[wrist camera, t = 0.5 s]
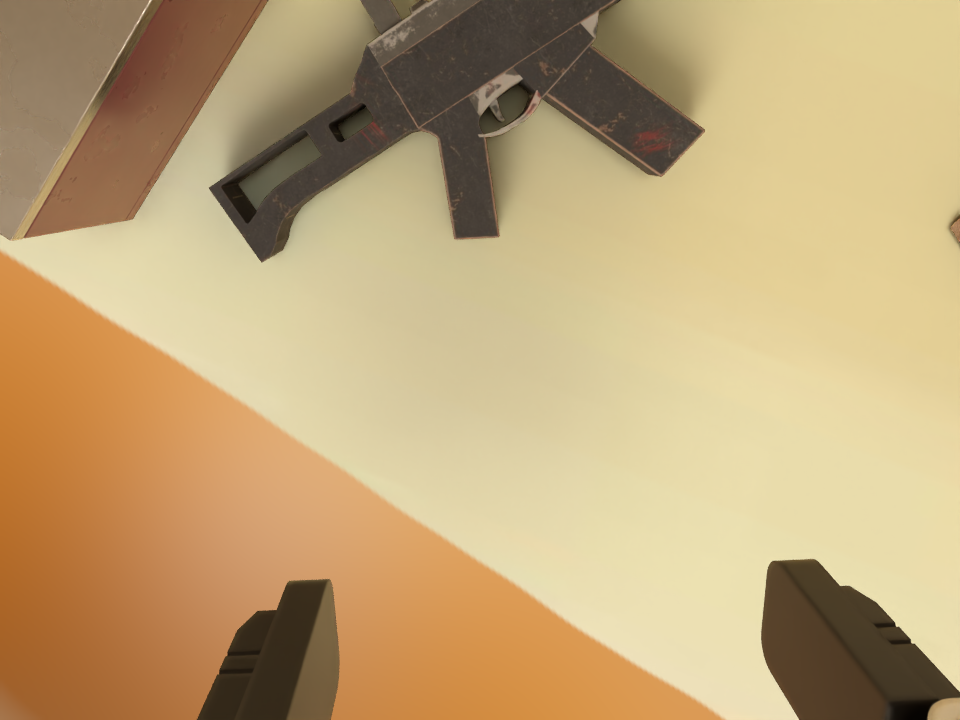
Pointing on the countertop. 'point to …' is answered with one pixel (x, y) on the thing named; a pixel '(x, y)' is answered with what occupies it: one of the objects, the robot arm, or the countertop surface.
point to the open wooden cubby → (146, 113)
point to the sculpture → (956, 229)
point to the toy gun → (465, 105)
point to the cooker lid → (55, 89)
